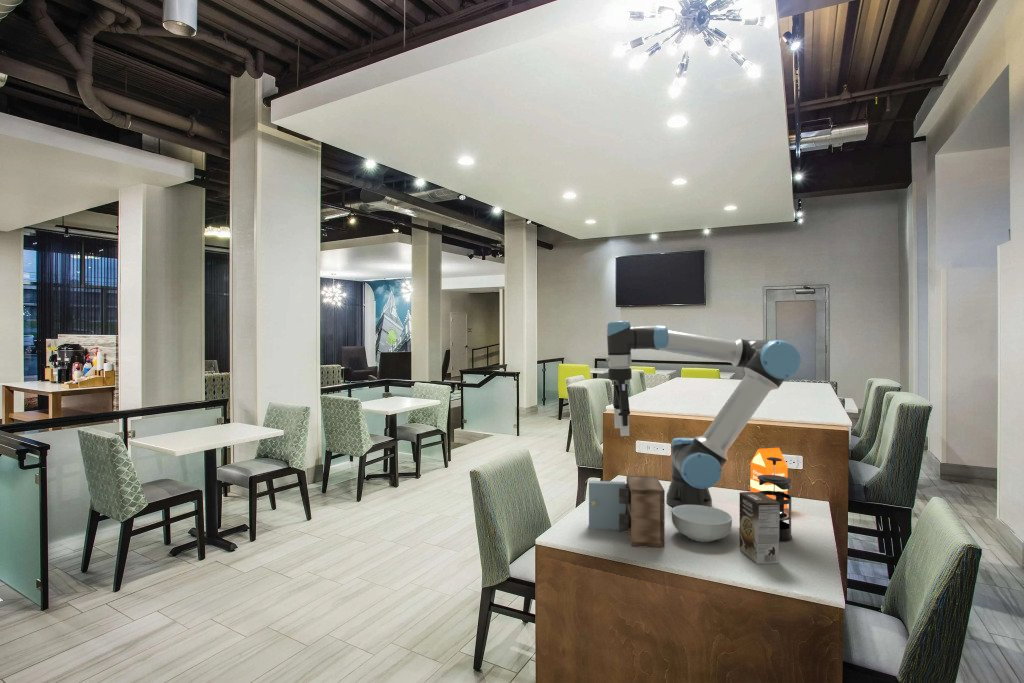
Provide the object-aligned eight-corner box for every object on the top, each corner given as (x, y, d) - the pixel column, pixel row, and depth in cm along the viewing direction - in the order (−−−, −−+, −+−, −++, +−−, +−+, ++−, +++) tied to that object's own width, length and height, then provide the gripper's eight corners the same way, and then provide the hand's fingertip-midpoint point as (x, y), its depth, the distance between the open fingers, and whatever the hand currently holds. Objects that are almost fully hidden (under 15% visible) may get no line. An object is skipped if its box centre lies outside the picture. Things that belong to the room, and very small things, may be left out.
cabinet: (655, 526, 160) (655, 474, 159) (664, 547, 143) (664, 490, 143) (617, 524, 161) (617, 473, 161) (622, 545, 145) (622, 489, 145)
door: (624, 526, 159) (624, 481, 159) (625, 531, 155) (625, 485, 155) (588, 525, 160) (588, 480, 160) (589, 529, 157) (589, 484, 157)
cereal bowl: (733, 552, 140) (733, 526, 140) (669, 544, 146) (669, 519, 146) (730, 530, 156) (730, 507, 156) (672, 523, 162) (673, 501, 162)
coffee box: (738, 549, 142) (738, 491, 142) (760, 549, 142) (760, 491, 142) (756, 564, 133) (756, 502, 133) (780, 563, 133) (780, 501, 133)
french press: (785, 545, 145) (786, 464, 144) (750, 536, 151) (751, 458, 151) (797, 533, 153) (798, 456, 153) (764, 525, 160) (764, 451, 159)
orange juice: (787, 508, 175) (788, 449, 175) (765, 510, 173) (766, 451, 173) (771, 501, 183) (771, 445, 183) (749, 503, 181) (750, 446, 181)
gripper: (603, 365, 182) (605, 425, 183) (613, 370, 157) (615, 439, 158) (625, 365, 182) (627, 424, 182) (638, 370, 157) (640, 439, 157)
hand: (621, 431), depth 170 cm, fingers open, 13 cm apart
